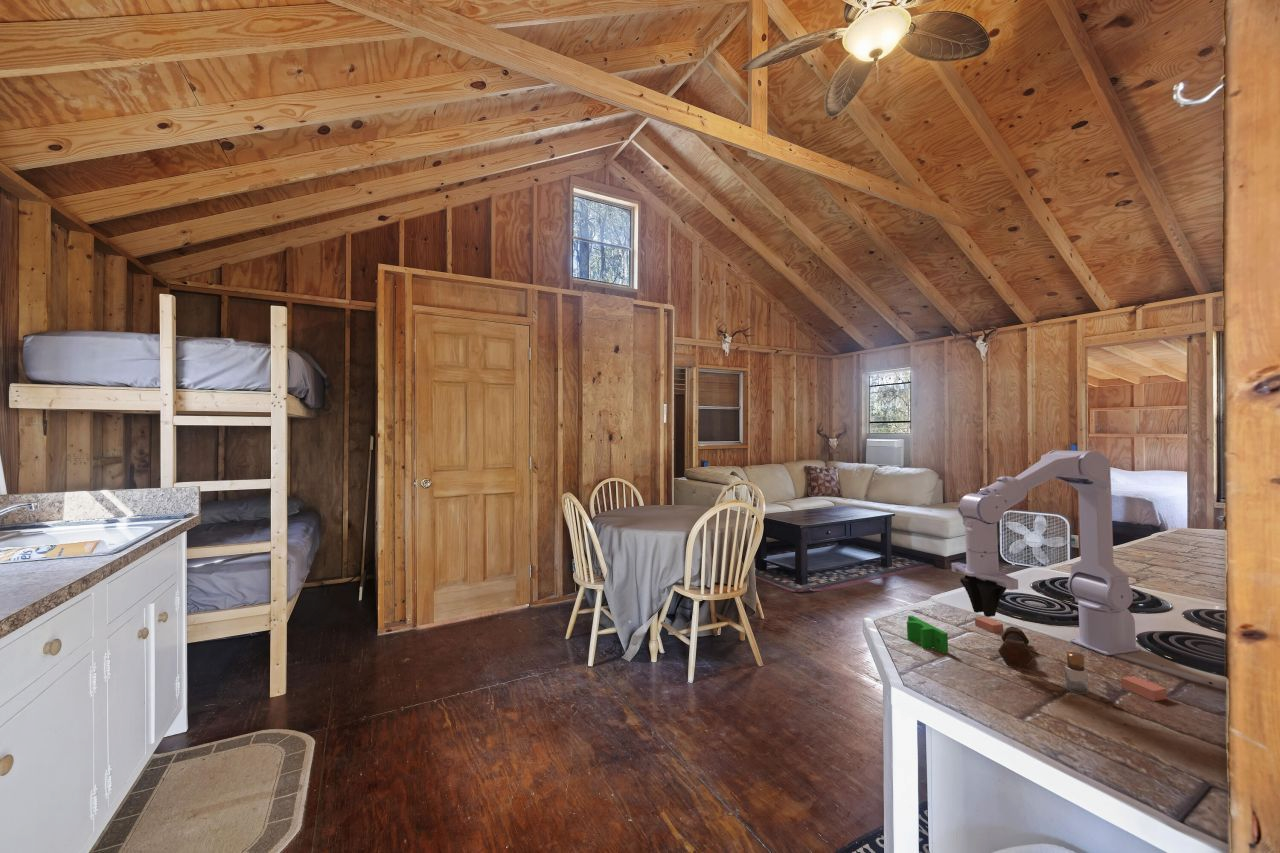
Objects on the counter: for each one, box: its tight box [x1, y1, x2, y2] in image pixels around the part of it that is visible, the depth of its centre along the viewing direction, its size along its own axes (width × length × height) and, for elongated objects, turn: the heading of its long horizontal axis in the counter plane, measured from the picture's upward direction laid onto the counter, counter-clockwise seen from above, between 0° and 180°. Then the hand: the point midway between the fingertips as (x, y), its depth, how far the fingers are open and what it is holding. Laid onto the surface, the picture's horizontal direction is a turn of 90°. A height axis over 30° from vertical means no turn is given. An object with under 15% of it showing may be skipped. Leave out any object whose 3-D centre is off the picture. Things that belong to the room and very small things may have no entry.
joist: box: [974, 616, 1004, 634], centre depth 123 cm, size 3×5×2 cm, turn 12°
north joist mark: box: [1120, 675, 1168, 702], centre depth 92 cm, size 3×5×2 cm, turn 12°
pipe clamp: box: [906, 615, 949, 654], centre depth 116 cm, size 11×4×5 cm, turn 9°
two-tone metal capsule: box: [1064, 651, 1089, 695], centre depth 94 cm, size 3×3×6 cm
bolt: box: [997, 626, 1034, 669], centre depth 110 cm, size 6×5×15 cm
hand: (984, 613), depth 108 cm, fingers open, 2 cm apart
